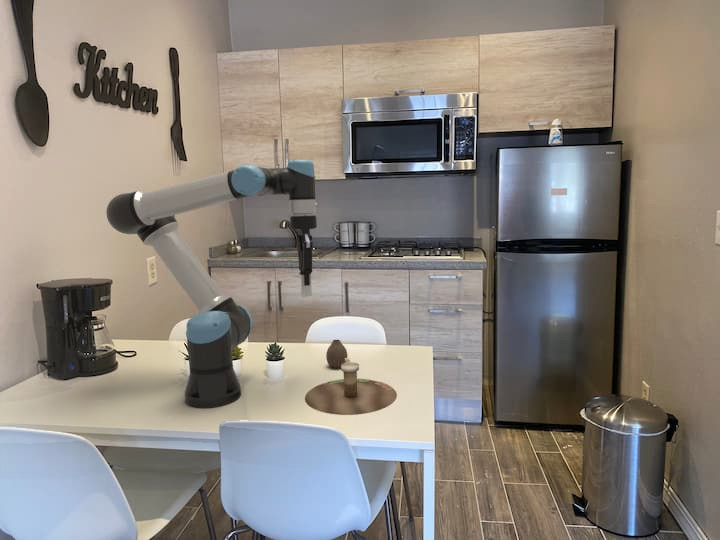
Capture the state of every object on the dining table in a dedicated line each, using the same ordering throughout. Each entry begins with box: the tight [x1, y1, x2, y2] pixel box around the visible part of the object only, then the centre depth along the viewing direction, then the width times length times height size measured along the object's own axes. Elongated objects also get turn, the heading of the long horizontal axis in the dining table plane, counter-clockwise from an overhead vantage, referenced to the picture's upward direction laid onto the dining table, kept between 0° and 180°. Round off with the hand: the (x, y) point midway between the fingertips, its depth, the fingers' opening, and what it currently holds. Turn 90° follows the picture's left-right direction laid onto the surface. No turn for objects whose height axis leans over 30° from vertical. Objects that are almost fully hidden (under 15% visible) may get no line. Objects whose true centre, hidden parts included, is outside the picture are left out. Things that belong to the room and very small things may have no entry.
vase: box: [326, 339, 348, 369], centre depth 164 cm, size 7×7×9 cm
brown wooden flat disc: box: [304, 378, 398, 416], centre depth 137 cm, size 25×25×1 cm
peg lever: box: [340, 357, 360, 397], centre depth 141 cm, size 15×5×8 cm, turn 6°
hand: (306, 295), depth 147 cm, fingers closed
